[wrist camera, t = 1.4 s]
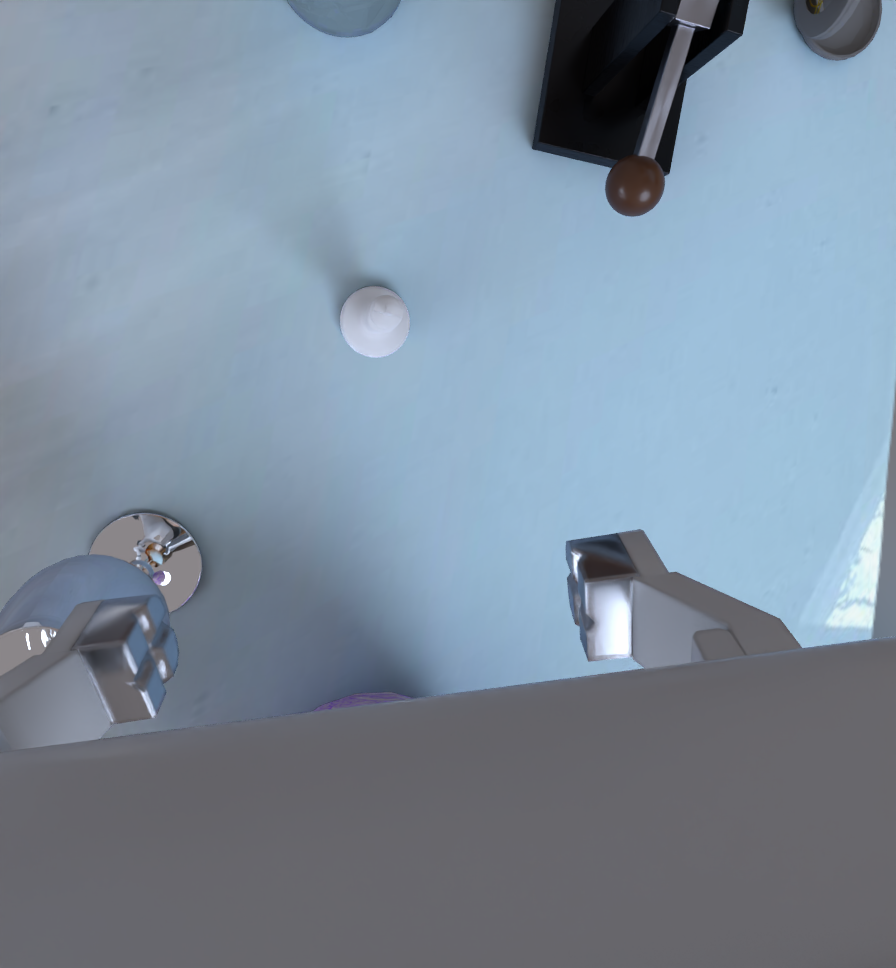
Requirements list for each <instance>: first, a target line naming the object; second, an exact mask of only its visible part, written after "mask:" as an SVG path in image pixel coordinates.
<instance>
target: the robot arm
mask: <svg viewBox="0 0 896 968" xmlns="http://www.w3.org/2000/svg"><path fill="white" fill-rule="evenodd" d="M566 560H567V563H568V566H569V569H570V572H571V573H570V574H569V576H568V577H567V585H568V595H569V602H570V608H571V612H572V616H573V619H574V622H575V624H576V625H578V626H580V639H581V642H582V645H583V648H584V651H585V654H586V656H587V659H588V662H589V661H599V660H609V659H618V658H628V657H633V660H635V661H636V662H637V663H639V664H640V665H641V666H643V667H644V668H645V669H637V670H629V671H621V672H614V673H606V674H598V675H590V676H583V677H575V678H567V679H560V680H552V681H544V682H537V683H529V684H521V685H513V686H506V687H498V688H490V689H483V690H475V691H467V692H459V693H452V694H444V695H436V696H429V697H421V698H413V699H405V700H398V701H390V702H382V703H375V704H367V705H359V706H351V707H344V708H336V709H328V710H321V711H313V712H305V713H297V714H290V715H282V716H274V717H266V718H259V719H251V720H243V721H236V722H228V723H220V724H212V725H205V726H197V727H189V728H182V729H174V730H166V731H158V732H151V733H143V734H135V735H127V736H120V737H112V738H104V739H100V738H101V737H102V736H103V735H104V734H105V733H106V732H107V731H108V730H109V729H110V728H111V727H112V726H111V725H112V724H118V723H124V722H131V721H137V720H143V719H150V718H156V716H157V714H158V711H159V709H160V707H161V704H162V702H163V700H164V697H165V695H166V693H167V692H166V690H165V687H164V683H166V682H167V681H168V680H169V679H170V678H172V677H173V676H174V673H175V671H176V668H177V666H178V656H179V648H178V642H177V638H176V635H175V632H174V629H172V628H171V627H170V626H168V625H167V624H166V623H164V622H163V618H164V616H165V614H166V612H167V611H166V608H165V606H164V604H163V601H162V599H161V597H159V596H158V595H156V594H150V595H141V596H132V597H123V598H114V599H107V600H104V599H103V600H96V601H89V602H83V603H80V604H77V605H76V606H75V607H74V609H73V610H72V612H71V613H70V615H69V616H68V617H67V619H66V620H65V622H64V623H63V625H62V626H61V627H60V629H59V630H58V632H57V633H56V635H55V636H54V637H53V639H52V640H51V642H50V643H49V645H48V646H47V647H46V649H45V650H44V652H43V653H42V654H41V655H34V656H32V657H31V658H29V659H27V660H26V661H24V662H23V663H21V664H19V665H18V666H16V667H15V668H13V669H11V670H10V671H8V672H7V673H5V674H3V675H2V676H0V968H896V636H892V637H885V638H877V639H869V640H862V641H854V642H846V643H839V644H831V645H823V646H815V647H808V648H802V647H801V646H800V644H799V643H798V642H797V641H796V639H795V638H794V637H793V635H792V634H791V633H790V631H789V630H788V629H787V627H786V626H785V625H784V623H783V622H782V621H781V620H780V619H779V618H777V617H775V616H773V615H770V614H768V613H766V612H764V611H761V610H759V609H757V608H755V607H753V606H750V605H748V604H746V603H744V602H742V601H739V600H737V599H735V598H733V597H730V596H728V595H726V594H724V593H722V592H719V591H717V590H715V589H713V588H711V587H708V586H706V585H704V584H702V583H700V582H697V581H695V580H693V579H691V578H688V577H686V576H684V575H682V574H680V573H677V572H671V573H669V572H668V570H667V569H666V567H665V565H664V564H663V562H662V560H661V559H660V557H659V555H658V554H657V552H656V551H655V549H654V547H653V546H652V544H651V542H650V541H649V539H648V537H647V536H646V534H645V532H644V531H643V530H641V529H638V530H632V531H626V532H620V533H615V534H609V535H602V536H596V537H590V538H583V539H577V540H570V541H566Z"/></svg>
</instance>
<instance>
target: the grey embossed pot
mask: <svg viewBox="0 0 896 968" xmlns="http://www.w3.org/2000/svg"><path fill="white" fill-rule="evenodd" d="M287 1H288V3H289V4H290V5H291V7H292V8H293V9H294V11H295V12H296V13H297V14H298V15H299V16H300V17H301V18H302V19H303V20H304V21H306V22H307V23H308V24H310V25H311V26H312V27H314V28H316V29H318V30H320V31H322V32H324V33H327V34H329V35H334V36H339V37H354V36H360V35H364V34H368V33H371V32H373V31H374V30H376V29H377V28H378V27H380V26H381V25H382V24H384V23H385V22H386V21H387V20H388V19H389V18H390V17H392V15H393V13H394V12H395V10H396V9H397V7H398V5H399V3H400V1H401V0H287Z"/></svg>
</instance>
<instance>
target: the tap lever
mask: <svg viewBox="0 0 896 968" xmlns="http://www.w3.org/2000/svg"><path fill="white" fill-rule="evenodd" d="M718 3H719V0H679V5H678V10H677V15H676V17H675V18H674V19H673V20H672V21H671V22H670V23H669V24H668V25H667V26H670V27H671V30H670V33H669V37H668V40H667V43H666V47H665V50H664V53H663V57H662V60H661V63H660V67H659V70H658V73H657V77H656V80H655V83H654V87H653V90H652V93H651V97H650V100H649V103H648V107H647V110H646V113H645V117H644V120H643V123H642V127H641V130H640V133H639V137H638V140H637V143H636V147H635V150H634V153H633V155H629V156H627V157H624V158H622V159H621V160H619V161H618V162H617V163H616V164H615V165H614V166H613V167H612V169H611V170H610V172H609V174H608V177H607V180H606V185H605V192H606V197H607V200H608V202H609V204H610V205H611V207H612V208H613V209H614V210H615V211H617V212H618V213H620V214H622V215H625V216H640V215H643V214H645V213H647V212H649V211H650V210H651V209H653V208H654V207H655V206H656V205H657V203H658V202H659V200H660V199H661V197H662V194H663V191H664V187H665V178H664V173H663V170H662V168H661V166H660V165H659V164H658V163H657V162H656V161H655V160H654V159H655V155H656V152H657V149H658V146H659V143H660V139H661V136H662V133H663V130H664V127H665V124H666V120H667V117H668V114H669V111H670V108H671V104H672V101H673V98H674V95H675V92H676V89H677V85H678V82H679V79H680V76H681V73H682V69H683V66H684V63H685V60H686V57H687V53H688V50H689V47H690V44H691V41H692V38H693V34H694V32H697V31H702V30H708V29H710V28H711V25H712V22H713V18H714V15H715V12H716V9H717V6H718Z"/></svg>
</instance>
